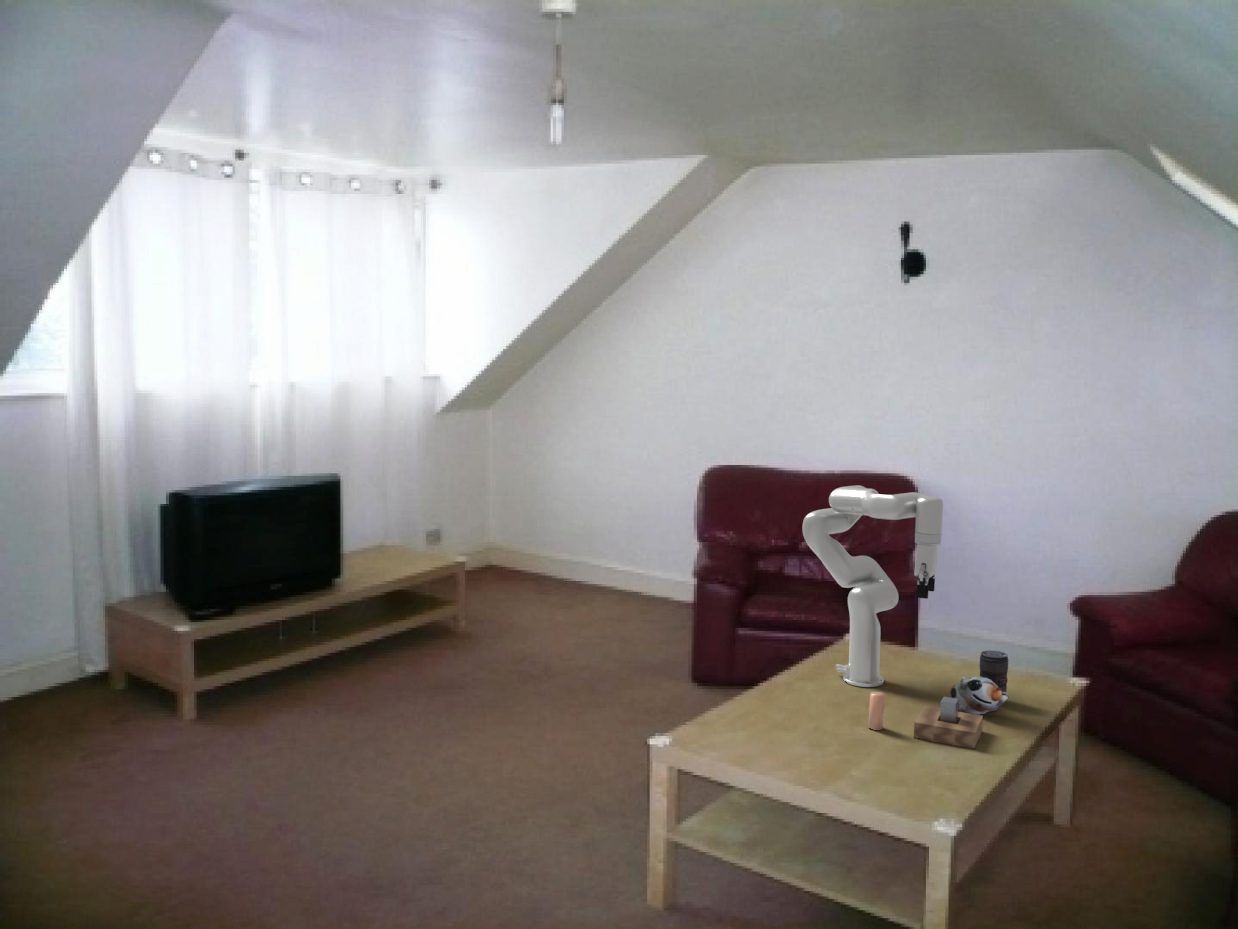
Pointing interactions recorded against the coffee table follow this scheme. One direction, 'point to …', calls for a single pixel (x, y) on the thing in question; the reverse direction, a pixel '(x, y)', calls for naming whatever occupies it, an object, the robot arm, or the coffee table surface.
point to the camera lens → (995, 667)
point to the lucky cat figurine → (977, 695)
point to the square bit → (949, 710)
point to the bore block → (948, 728)
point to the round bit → (876, 710)
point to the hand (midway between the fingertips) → (925, 594)
